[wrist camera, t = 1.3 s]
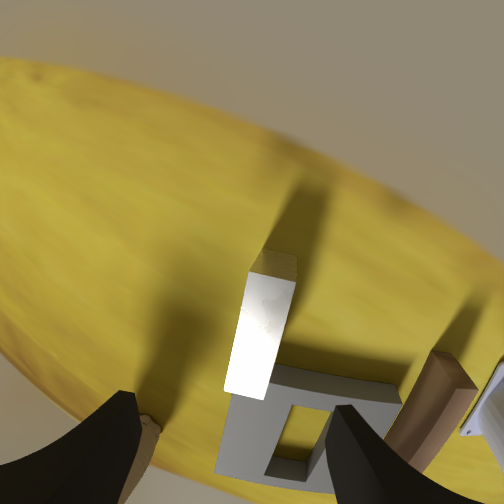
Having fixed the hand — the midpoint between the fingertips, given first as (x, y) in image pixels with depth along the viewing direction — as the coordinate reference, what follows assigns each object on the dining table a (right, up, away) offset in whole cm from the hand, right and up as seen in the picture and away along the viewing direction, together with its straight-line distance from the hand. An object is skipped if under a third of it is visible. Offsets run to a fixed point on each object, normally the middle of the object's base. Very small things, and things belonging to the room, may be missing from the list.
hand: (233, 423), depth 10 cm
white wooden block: (+2, +3, +10) cm, 11 cm away
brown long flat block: (+13, -10, +11) cm, 20 cm away
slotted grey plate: (+5, -8, +12) cm, 15 cm away
